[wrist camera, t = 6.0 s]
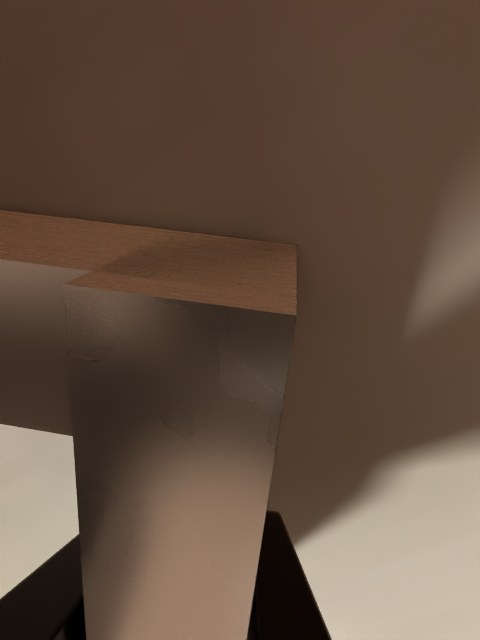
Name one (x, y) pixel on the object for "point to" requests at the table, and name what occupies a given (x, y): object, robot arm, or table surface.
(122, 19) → the table surface
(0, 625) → the robot arm
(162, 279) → the pale grey angled bracket
